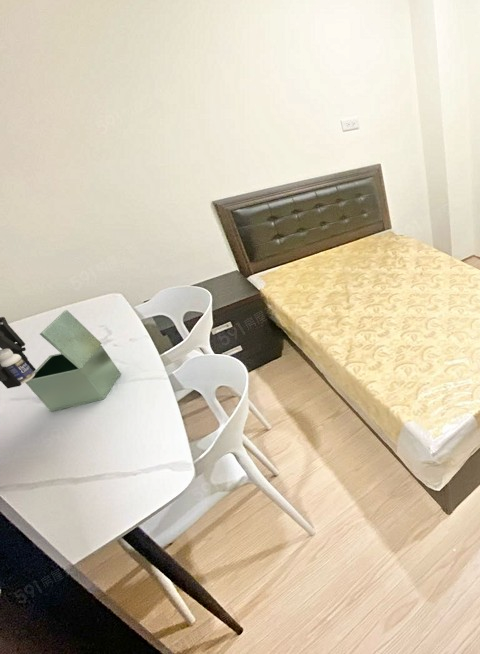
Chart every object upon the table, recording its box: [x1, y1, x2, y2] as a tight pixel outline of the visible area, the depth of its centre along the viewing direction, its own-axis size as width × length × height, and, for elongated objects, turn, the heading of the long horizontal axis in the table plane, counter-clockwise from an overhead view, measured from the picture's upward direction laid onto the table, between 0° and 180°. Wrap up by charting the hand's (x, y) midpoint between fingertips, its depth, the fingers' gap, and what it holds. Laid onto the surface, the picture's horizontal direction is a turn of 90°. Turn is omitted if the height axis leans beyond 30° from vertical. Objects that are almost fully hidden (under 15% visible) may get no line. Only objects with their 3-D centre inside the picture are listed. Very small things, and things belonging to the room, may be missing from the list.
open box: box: [25, 344, 122, 413], centre depth 127 cm, size 14×13×13 cm
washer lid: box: [39, 309, 102, 369], centre depth 122 cm, size 14×13×1 cm
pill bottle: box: [0, 349, 35, 385], centre depth 109 cm, size 5×5×10 cm
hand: (22, 378), depth 112 cm, fingers closed on pill bottle, 5 cm apart
